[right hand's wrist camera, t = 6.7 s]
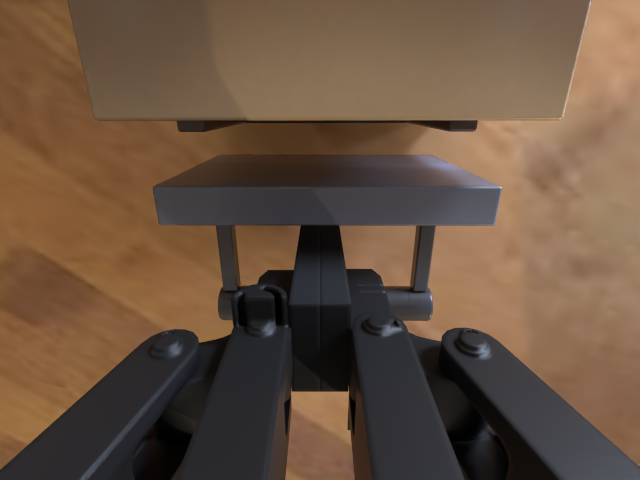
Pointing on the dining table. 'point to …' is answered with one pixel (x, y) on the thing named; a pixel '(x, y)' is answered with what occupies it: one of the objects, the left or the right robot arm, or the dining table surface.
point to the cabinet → (328, 59)
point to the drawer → (330, 201)
